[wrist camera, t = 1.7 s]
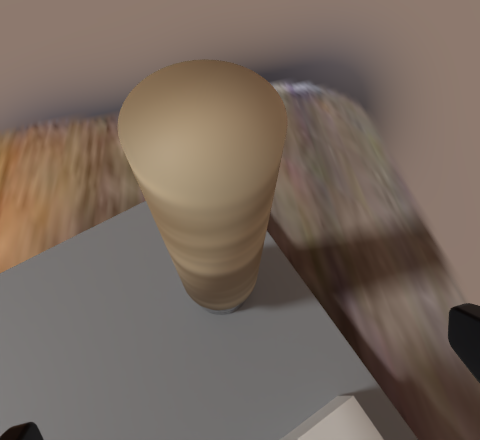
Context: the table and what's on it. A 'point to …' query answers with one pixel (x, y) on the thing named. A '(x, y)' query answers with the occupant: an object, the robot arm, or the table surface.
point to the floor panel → (167, 347)
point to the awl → (207, 171)
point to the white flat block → (337, 423)
